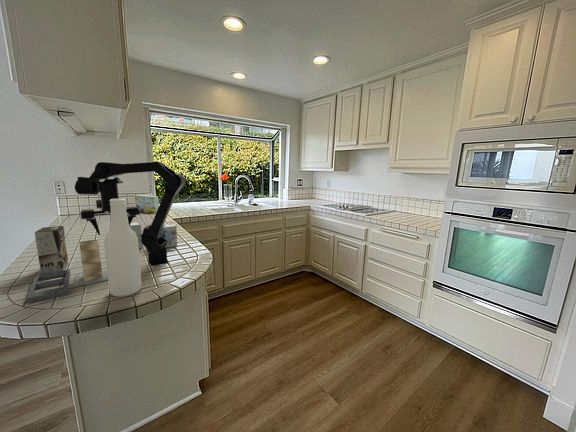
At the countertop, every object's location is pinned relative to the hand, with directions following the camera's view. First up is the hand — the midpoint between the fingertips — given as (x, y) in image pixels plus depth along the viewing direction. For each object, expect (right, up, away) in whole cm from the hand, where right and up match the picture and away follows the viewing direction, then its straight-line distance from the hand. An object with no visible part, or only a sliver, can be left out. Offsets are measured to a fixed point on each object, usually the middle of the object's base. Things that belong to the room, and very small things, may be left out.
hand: (113, 233), depth 101 cm
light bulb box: (+7, -9, +28) cm, 30 cm away
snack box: (-54, +10, +120) cm, 132 cm away
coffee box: (-20, -14, -4) cm, 24 cm away
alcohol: (+18, -18, -20) cm, 32 cm away
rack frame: (-8, -16, -19) cm, 26 cm away
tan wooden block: (0, -15, -11) cm, 19 cm away
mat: (0, -15, -11) cm, 19 cm away
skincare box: (-5, -9, +24) cm, 26 cm away
